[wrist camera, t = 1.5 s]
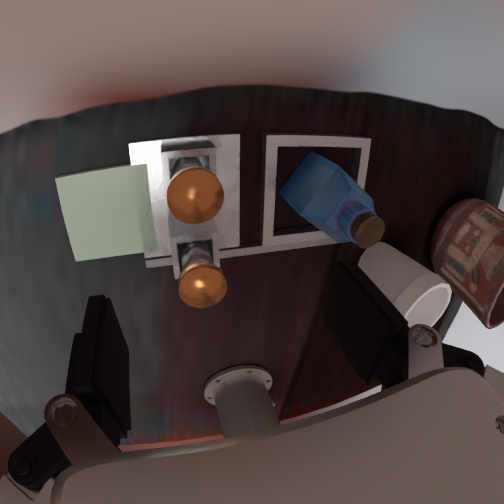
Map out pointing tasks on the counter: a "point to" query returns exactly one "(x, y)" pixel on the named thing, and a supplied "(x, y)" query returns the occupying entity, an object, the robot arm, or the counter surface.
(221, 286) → the plunger
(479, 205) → the pottery
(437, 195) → the counter surface
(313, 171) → the perfume bottle
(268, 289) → the counter surface
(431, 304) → the foam cup
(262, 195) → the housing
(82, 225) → the mat
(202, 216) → the plunger
